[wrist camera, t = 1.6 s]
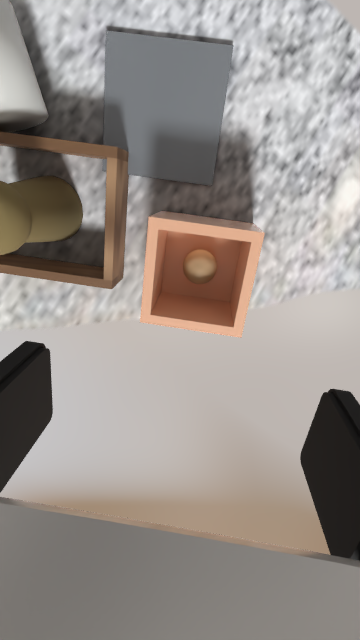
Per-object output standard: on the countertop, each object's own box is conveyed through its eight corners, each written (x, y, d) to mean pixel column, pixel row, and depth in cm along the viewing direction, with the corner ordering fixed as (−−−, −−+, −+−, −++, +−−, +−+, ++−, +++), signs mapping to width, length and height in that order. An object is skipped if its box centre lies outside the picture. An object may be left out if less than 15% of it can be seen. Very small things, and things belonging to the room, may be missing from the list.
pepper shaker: (94, 224, 31) (37, 242, 21) (46, 251, 32) (-30, 279, 22) (60, 163, 29) (-22, 149, 19) (10, 194, 30) (-90, 197, 20)
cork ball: (186, 244, 30) (183, 250, 27) (219, 249, 30) (220, 255, 27) (182, 276, 31) (179, 285, 28) (214, 281, 31) (214, 290, 28)
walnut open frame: (-28, 131, 29) (-64, 123, 25) (129, 152, 28) (117, 146, 24) (-13, 257, 33) (-41, 266, 29) (123, 277, 33) (111, 289, 29)
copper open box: (162, 210, 30) (148, 216, 23) (253, 223, 29) (264, 232, 23) (154, 296, 33) (140, 322, 27) (235, 308, 33) (241, 337, 26)
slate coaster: (107, 32, 25) (106, 30, 25) (233, 47, 25) (233, 45, 24) (104, 171, 29) (102, 171, 28) (212, 185, 28) (212, 185, 28)
